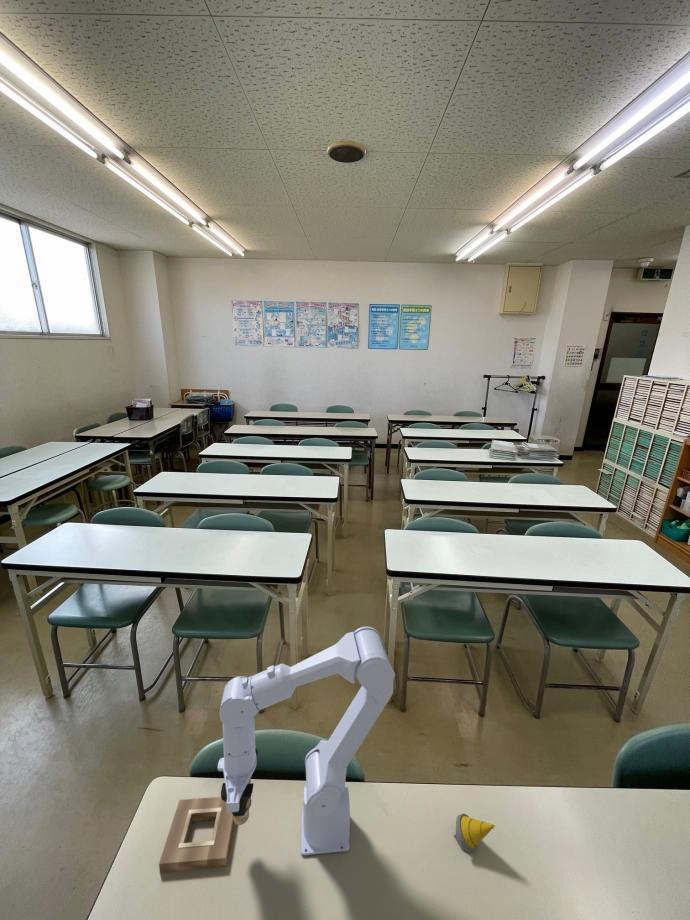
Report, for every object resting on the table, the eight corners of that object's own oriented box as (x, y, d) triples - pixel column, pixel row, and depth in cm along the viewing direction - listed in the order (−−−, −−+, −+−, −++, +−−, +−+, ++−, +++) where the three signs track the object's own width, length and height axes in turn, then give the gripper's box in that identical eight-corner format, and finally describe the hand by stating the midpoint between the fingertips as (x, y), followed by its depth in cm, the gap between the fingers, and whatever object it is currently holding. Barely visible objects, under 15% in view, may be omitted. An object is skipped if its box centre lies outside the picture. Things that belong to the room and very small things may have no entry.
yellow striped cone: (457, 819, 80) (497, 809, 76) (464, 855, 75) (507, 846, 71) (442, 815, 78) (482, 804, 74) (448, 852, 73) (491, 843, 69)
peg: (252, 804, 76) (252, 771, 74) (249, 826, 72) (249, 792, 70) (233, 806, 75) (232, 773, 74) (229, 828, 71) (227, 794, 70)
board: (237, 803, 82) (236, 795, 81) (225, 866, 71) (225, 857, 70) (179, 807, 81) (179, 799, 80) (159, 872, 70) (158, 863, 69)
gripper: (226, 710, 77) (228, 765, 80) (206, 783, 63) (210, 847, 65) (261, 708, 78) (262, 763, 80) (250, 780, 63) (251, 844, 66)
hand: (241, 801), depth 73 cm, fingers closed on peg, 4 cm apart
